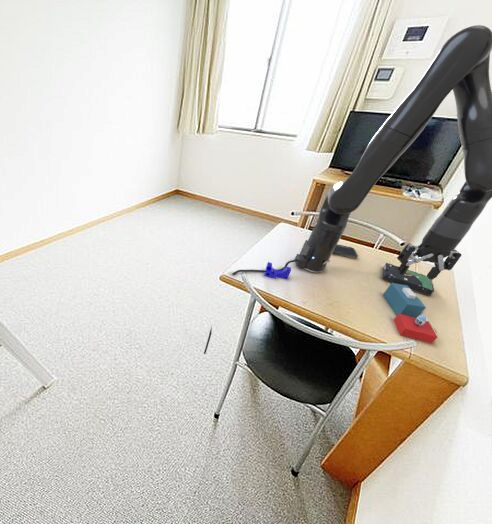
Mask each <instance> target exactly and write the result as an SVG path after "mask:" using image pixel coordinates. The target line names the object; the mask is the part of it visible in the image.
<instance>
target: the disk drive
mask: <svg viewBox="0 0 492 524" xmlns="http://www.w3.org/2000/svg"><path fill="white" fill-rule="evenodd" d="M398 268H399V266H398V265H395V264H392V263H388V262H385V264H384V266H383V269H382V275H381V279H382V280H384V281H386V282H387V283H388V282H389V283H390V284H391V283H395V284H401V285H407V286H408V287H409V288H410V289H411V290H412V291H413V292H417V293H419V294H423V295H426V296H432V294H433V293H434V292H435V287H434V283H433V280H431V279H429V278H428V277H427V275H425V274H422V273H419V272H416V271H412V270H410V269H408V270H407V271H406V273H405V274H404V275H400V274H399V273H398V271H397V270H398Z"/></svg>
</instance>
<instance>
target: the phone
mask: <svg viewBox="0 0 492 524" xmlns="http://www.w3.org/2000/svg"><path fill="white" fill-rule="evenodd" d="M332 255H336V256H340V257H345V258H350V259H354V260H355V259H357V257H358V253H357V251H356V249H355V248H354V247H352V246H347V245H342V244H339V243H337V245H336V247H335V249H334V251H333V253H332Z"/></svg>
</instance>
